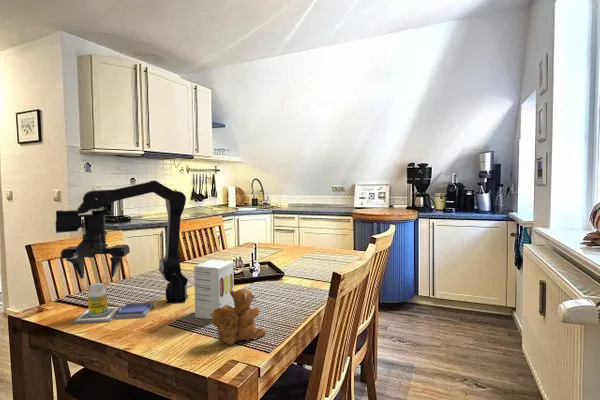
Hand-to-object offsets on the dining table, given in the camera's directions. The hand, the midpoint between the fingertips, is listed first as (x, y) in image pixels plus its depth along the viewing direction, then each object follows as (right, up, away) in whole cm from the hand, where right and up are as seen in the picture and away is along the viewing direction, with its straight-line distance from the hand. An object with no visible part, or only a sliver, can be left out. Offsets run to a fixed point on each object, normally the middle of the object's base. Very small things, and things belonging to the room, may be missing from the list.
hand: (97, 277), depth 114 cm
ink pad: (+11, -12, +3) cm, 16 cm away
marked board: (0, -12, 0) cm, 12 cm away
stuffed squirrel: (+48, -14, -15) cm, 52 cm away
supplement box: (+38, -12, +1) cm, 40 cm away
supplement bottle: (0, -12, 0) cm, 12 cm away
